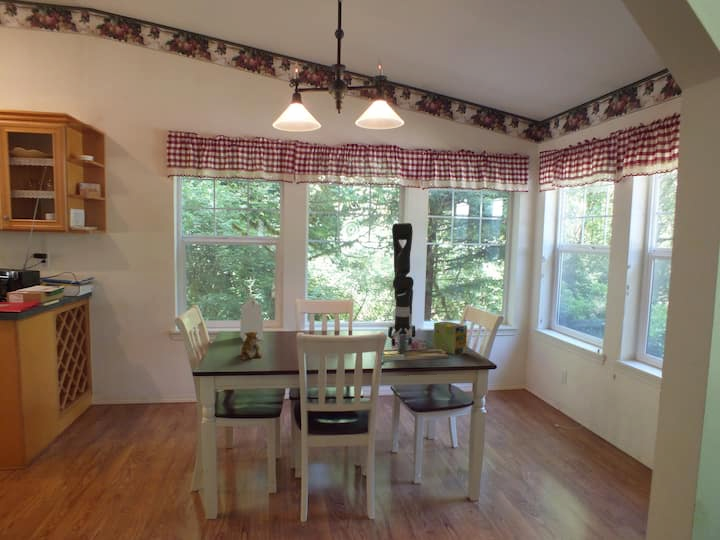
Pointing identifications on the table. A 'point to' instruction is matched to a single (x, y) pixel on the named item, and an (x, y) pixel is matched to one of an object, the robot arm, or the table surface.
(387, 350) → the tray
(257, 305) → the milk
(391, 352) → the chip
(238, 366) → the table surface
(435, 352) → the slot board
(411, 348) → the candy bar box
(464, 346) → the protein box
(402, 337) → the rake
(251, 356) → the stuffed squirrel
